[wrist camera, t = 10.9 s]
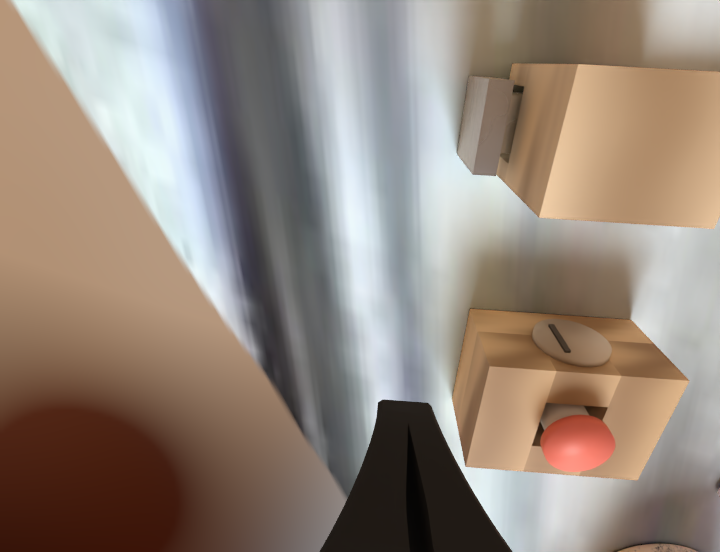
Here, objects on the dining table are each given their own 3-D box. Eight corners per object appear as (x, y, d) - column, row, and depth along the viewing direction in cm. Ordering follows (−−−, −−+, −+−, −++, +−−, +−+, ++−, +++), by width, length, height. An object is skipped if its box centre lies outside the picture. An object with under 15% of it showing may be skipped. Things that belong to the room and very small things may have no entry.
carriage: (646, 70, 16) (784, 75, 10) (612, 177, 18) (714, 228, 12) (512, 63, 16) (578, 64, 10) (491, 169, 18) (539, 217, 12)
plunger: (587, 369, 20) (625, 426, 17) (570, 413, 21) (603, 474, 18) (527, 364, 20) (553, 421, 17) (514, 409, 21) (537, 469, 18)
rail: (880, 98, 16) (1004, 107, 13) (835, 176, 17) (938, 202, 14) (468, 75, 16) (489, 78, 13) (456, 154, 18) (472, 174, 15)
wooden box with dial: (634, 312, 21) (693, 372, 17) (594, 409, 24) (637, 480, 20) (471, 301, 21) (491, 358, 17) (452, 398, 24) (465, 466, 20)
